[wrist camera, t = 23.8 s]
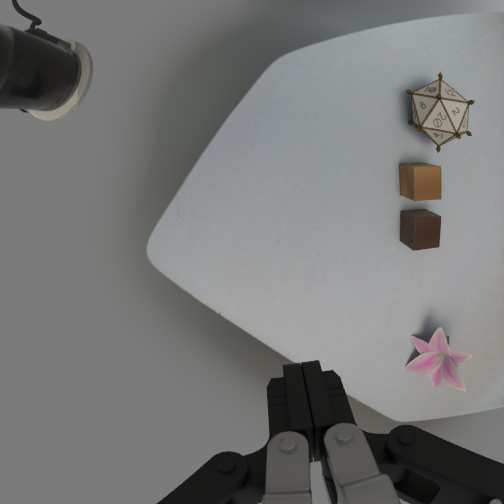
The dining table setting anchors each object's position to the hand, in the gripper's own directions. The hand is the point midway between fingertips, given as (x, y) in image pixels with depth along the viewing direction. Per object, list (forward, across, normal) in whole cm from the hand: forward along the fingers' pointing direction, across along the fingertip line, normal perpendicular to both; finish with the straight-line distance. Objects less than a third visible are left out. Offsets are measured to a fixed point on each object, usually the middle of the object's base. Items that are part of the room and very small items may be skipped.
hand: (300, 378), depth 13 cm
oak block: (+27, -19, -4) cm, 33 cm away
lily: (+27, -24, +23) cm, 43 cm away
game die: (+27, -22, -12) cm, 37 cm away
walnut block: (+27, -19, +2) cm, 33 cm away
